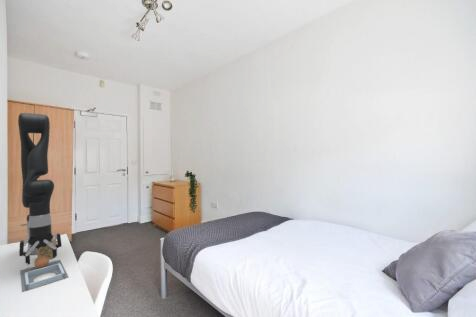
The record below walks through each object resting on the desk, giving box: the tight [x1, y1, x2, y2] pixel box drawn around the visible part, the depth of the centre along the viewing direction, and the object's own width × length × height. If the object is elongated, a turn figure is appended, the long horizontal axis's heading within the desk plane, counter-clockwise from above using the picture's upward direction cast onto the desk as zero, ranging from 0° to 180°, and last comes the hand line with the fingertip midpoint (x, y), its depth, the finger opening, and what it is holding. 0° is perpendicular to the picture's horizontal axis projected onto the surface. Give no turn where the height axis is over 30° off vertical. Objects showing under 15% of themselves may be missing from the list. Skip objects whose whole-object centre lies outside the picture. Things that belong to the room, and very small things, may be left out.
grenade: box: [36, 238, 58, 261], centre depth 114 cm, size 8×7×15 cm
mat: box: [19, 259, 69, 293], centre depth 98 cm, size 24×14×1 cm, turn 45°
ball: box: [33, 256, 50, 268], centre depth 103 cm, size 5×5×5 cm
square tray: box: [25, 263, 66, 292], centre depth 94 cm, size 14×12×2 cm
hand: (41, 260), depth 103 cm, fingers open, 8 cm apart
